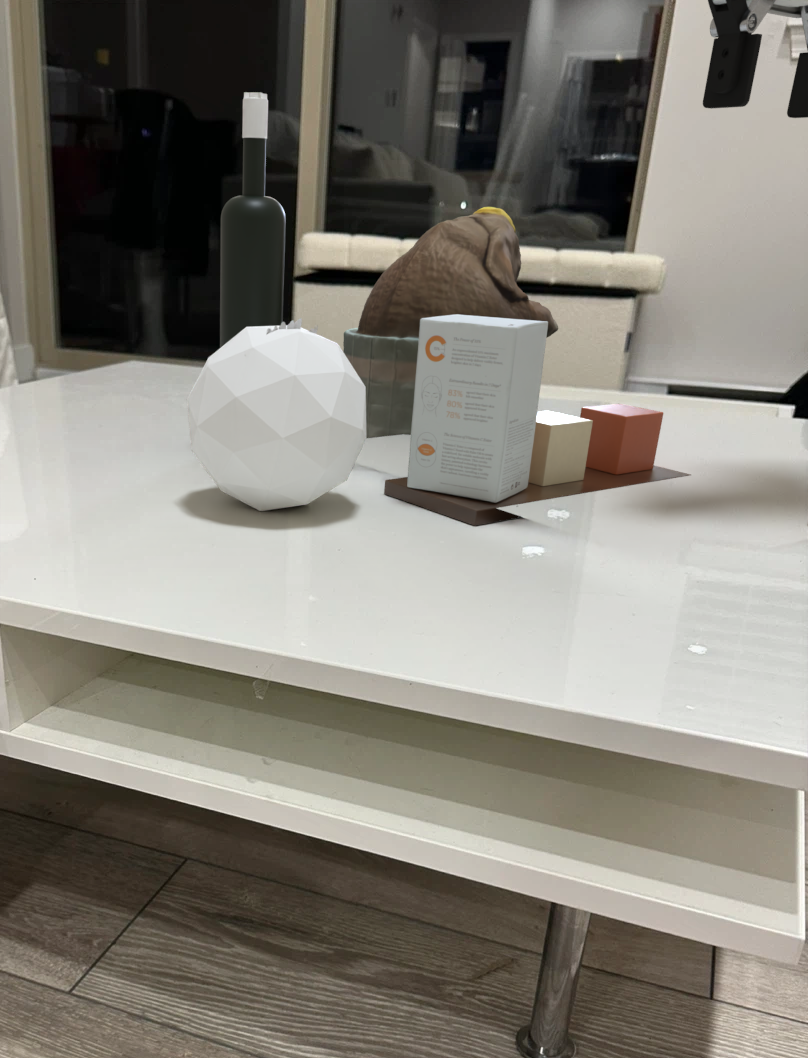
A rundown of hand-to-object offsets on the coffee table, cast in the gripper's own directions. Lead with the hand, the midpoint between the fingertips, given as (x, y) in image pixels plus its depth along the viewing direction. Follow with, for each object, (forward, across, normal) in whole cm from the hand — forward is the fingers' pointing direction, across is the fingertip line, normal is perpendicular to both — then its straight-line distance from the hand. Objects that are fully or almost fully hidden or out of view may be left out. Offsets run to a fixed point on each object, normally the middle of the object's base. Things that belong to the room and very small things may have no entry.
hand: (767, 112), depth 73 cm
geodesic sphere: (+28, -28, +18) cm, 44 cm away
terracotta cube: (+27, +4, +11) cm, 30 cm away
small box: (+27, -14, +11) cm, 33 cm away
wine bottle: (+28, -19, +36) cm, 50 cm away
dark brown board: (+28, -5, +11) cm, 31 cm away
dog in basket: (+28, +7, +37) cm, 47 cm away
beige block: (+27, -5, +11) cm, 30 cm away
